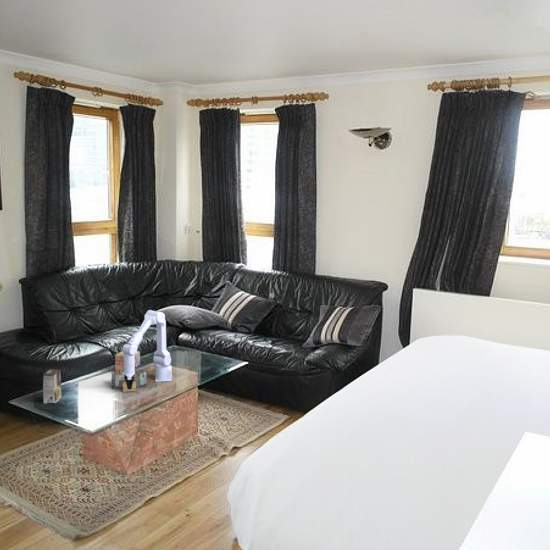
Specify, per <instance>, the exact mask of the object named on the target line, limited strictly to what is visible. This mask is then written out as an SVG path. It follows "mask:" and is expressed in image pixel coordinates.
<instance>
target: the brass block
mask: <svg viewBox="0 0 550 550" xmlns="http://www.w3.org/2000/svg"><path fill="white" fill-rule="evenodd" d="M122 392H123V393H125V392H126V393H127V392H137V388H136V382H133V384H132V389H127V384H126V382H123V388H122Z"/></svg>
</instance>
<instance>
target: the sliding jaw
mask: <svg viewBox="0 0 550 550" xmlns="http://www.w3.org/2000/svg"><path fill="white" fill-rule="evenodd" d="M139 379H140V385H144V384H146V379H147V371H143V373H139Z"/></svg>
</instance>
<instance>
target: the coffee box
mask: <svg viewBox="0 0 550 550" xmlns="http://www.w3.org/2000/svg"><path fill="white" fill-rule="evenodd" d="M61 375H62V372H61V369H54V368H53V369H51V368H50V369H48V370H47V371H45V372H44V373H43V374H42V387H43V388H42V389H43V393H42V394H43V396H42V397H43V404H47V403H55V404H56V403H57V402H59V399H60V398H61V399H62V376H61ZM61 399H60V400H61Z"/></svg>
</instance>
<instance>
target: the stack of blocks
mask: <svg viewBox="0 0 550 550" xmlns="http://www.w3.org/2000/svg"><path fill="white" fill-rule="evenodd" d="M114 358H115V359H114V364H115V365H114V367H115V368H114V369H115V370H114V374H115V373H116V375H123V376H125V375H124V374H122V372H124V354H123V352H122V351H120V352H117V354H115V355H114ZM138 365H139V366H141V351H139V350H137V352H136V354H135V367H136V368H138V367H139V366H138ZM137 366H138V367H137Z"/></svg>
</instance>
